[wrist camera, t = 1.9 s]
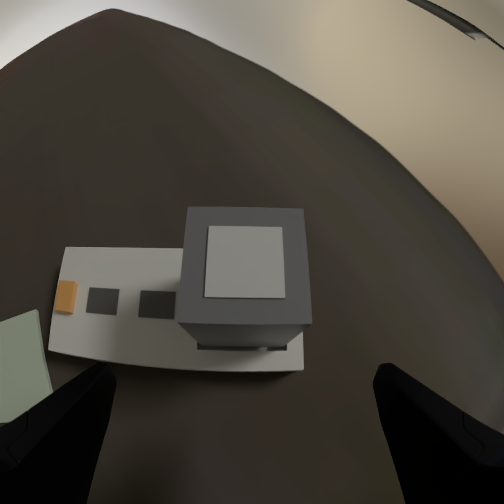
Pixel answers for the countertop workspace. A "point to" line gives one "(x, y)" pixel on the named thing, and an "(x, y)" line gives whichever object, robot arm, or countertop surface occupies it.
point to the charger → (244, 276)
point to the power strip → (142, 315)
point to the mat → (22, 366)
